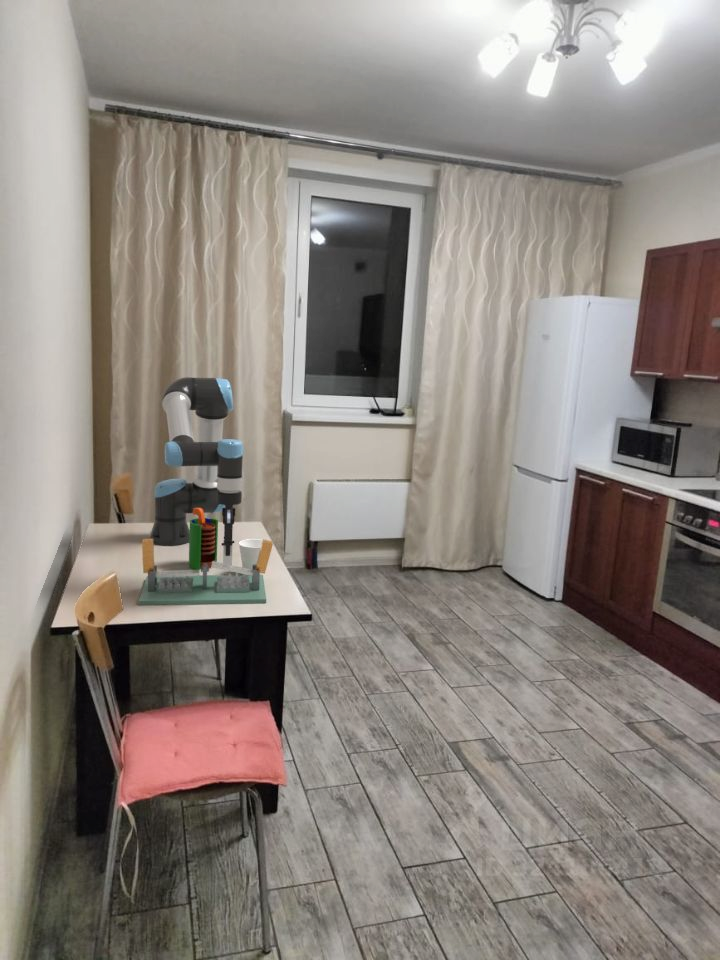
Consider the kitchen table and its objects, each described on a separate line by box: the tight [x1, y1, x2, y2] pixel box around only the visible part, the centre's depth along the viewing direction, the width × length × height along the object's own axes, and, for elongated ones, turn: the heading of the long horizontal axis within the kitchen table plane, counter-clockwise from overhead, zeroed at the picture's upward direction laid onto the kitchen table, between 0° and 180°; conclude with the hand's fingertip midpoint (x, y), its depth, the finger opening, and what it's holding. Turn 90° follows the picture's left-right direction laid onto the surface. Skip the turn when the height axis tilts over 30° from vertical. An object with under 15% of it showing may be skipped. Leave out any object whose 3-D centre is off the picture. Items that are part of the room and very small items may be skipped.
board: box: [138, 574, 267, 606], centre depth 217 cm, size 22×37×1 cm, turn 101°
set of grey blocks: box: [147, 563, 260, 594], centre depth 216 cm, size 10×33×7 cm, turn 101°
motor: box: [188, 508, 219, 571], centre depth 239 cm, size 10×9×20 cm
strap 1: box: [141, 538, 201, 578], centre depth 213 cm, size 16×3×12 cm, turn 100°
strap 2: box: [211, 539, 274, 576], centre depth 217 cm, size 16×3×12 cm, turn 101°
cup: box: [238, 538, 263, 575], centre depth 233 cm, size 10×10×11 cm
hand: (227, 564), depth 216 cm, fingers closed
